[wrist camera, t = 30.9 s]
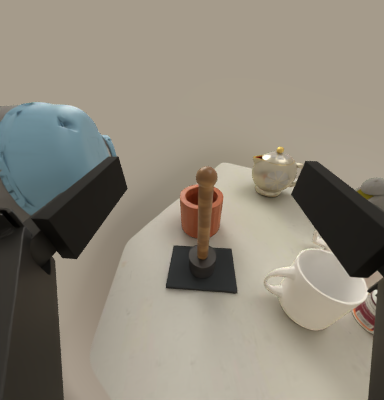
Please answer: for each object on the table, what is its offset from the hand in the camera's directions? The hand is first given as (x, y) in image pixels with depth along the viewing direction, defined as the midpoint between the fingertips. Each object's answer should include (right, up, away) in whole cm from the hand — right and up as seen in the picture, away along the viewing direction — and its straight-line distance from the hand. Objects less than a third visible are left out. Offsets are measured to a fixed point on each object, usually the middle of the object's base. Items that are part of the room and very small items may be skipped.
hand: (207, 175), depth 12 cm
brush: (+1, -16, +24) cm, 29 cm away
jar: (+1, -9, +35) cm, 36 cm away
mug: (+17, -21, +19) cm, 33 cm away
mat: (+1, -17, +24) cm, 30 cm away
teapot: (+28, +1, +48) cm, 56 cm away
